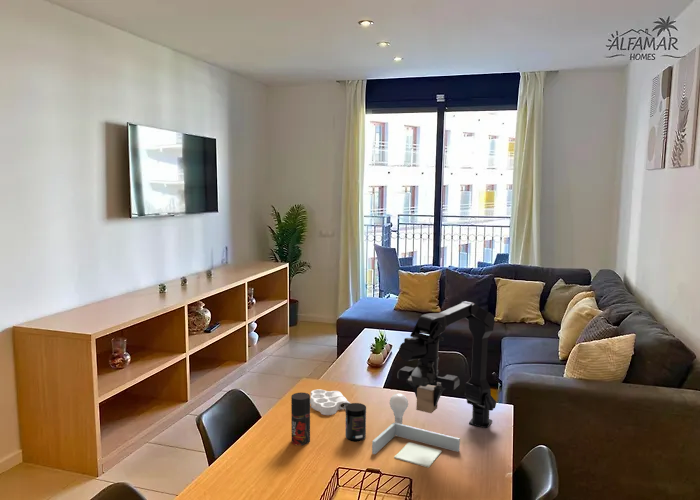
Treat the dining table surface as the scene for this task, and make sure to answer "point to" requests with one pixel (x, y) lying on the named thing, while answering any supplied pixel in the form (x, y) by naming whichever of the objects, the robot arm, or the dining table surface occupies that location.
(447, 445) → the plastic wall
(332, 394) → the white egg tray
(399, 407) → the lightbulb
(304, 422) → the deodorant
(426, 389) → the walnut block
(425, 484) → the dining table surface
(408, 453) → the plate
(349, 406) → the supplement container
